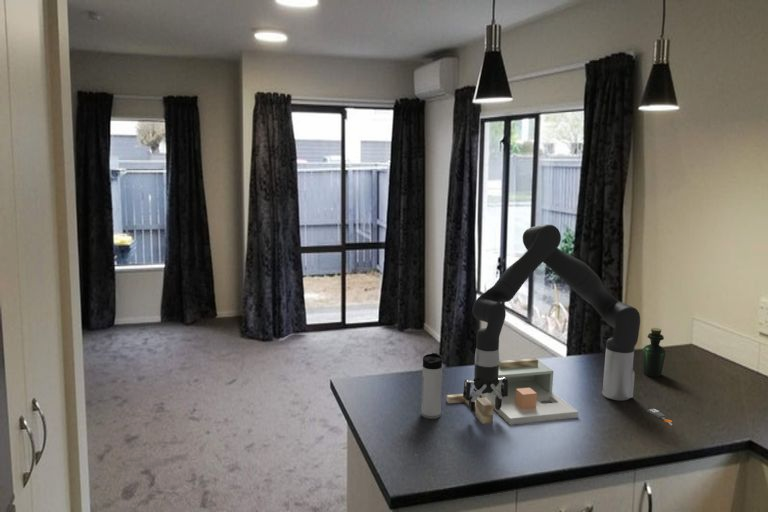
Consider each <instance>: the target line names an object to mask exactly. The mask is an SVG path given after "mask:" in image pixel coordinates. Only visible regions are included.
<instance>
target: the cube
mask: <svg viewBox="0 0 768 512" xmlns="http://www.w3.org/2000/svg"><path fill="white" fill-rule="evenodd" d="M536 401H537V393H536V392H535V391H533V390H532V389H531V388H520V389H516V398H515V403H516V404H517V405H518V406H519V407H520V408H521V409H529V408H536Z"/></svg>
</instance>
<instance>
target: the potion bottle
mask: <svg viewBox="0 0 768 512" xmlns="http://www.w3.org/2000/svg"><path fill="white" fill-rule="evenodd" d="M650 330H651V333H650V332H649V333H648V334H647V338H648V339H649V340H650V344H647V345H644V347H643V349H642V368H643V370H642V372H643V374H645V375H646V376H649V377H656V378H657V377H661V376H662V373H663V368H664V363H665V358H666V352H667V351H666V348H664V347H663V346H662V345H660V343H661V341H664V339H665V338H664V335H663V334H661V333H662V328H658V327H651V328H650Z"/></svg>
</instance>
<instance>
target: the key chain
mask: <svg viewBox="0 0 768 512" xmlns="http://www.w3.org/2000/svg"><path fill="white" fill-rule="evenodd" d="M646 413H647V414H649V415H651V416H653V417H655V418H657V419H660V420H663V421H664V422H665V423H668V424H669V425H670V426H672V425H673V421H672V420H671V419H667V416H666V415H665V414H664V413H663V412H660V410H658V409H655V408H649V409H646Z"/></svg>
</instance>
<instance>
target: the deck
mask: <svg viewBox="0 0 768 512" xmlns="http://www.w3.org/2000/svg"><path fill="white" fill-rule="evenodd" d="M502 376H504V377H505V378H506V379H507V380H508V396H507V397H503V398H502V404H501V408H500V410H497V409H496V408H495V397H497V396H496V395H495V393H494V392H492V393H485V394H482V393H481V394H480V397H481V398H484V397H486V398H487V399H488V400H489V401H490V402H491V403H492V404H493V405H494V408H493V410H495V411H496V412H497V414H499V416H501V418H503V419H504V421H506V422H507V424H508V425H517V424H526V423H528V424H529V423H536V422H538V423H539V422H546V421H547V420H548V421H557V420H564V419H575V418H579V411H578V409H576V408H575V407H573V406H572V405H570V403H568V402H566V401H565V400H564V399H562V398H561V397H560V396H558V395H557V394H556V393H555V392H553V385H554V383H553V381H554V370H553V368H552V369H551V368H550V367H549V366H547V365H546V364H545V363H543V362H541V361H540V360H539V359H538V366H531V367H519V368H506V369H501V368H500V367H499V374H498V378H501V377H502ZM496 388H497V390H498V391H499V392H501V384H500V382H499V384H498V385H497V386H496ZM520 388H531V389H532V390H533V391H535V392H536V393H537V401H536V408H529V409H521V408H520V407H519V406H518V405H517V404H516V403H515V398H516V389H520ZM477 391H478V390H477ZM542 402H546V403H542ZM547 402H549V403H547ZM551 402H552V403H551ZM556 419H557V420H556Z"/></svg>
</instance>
